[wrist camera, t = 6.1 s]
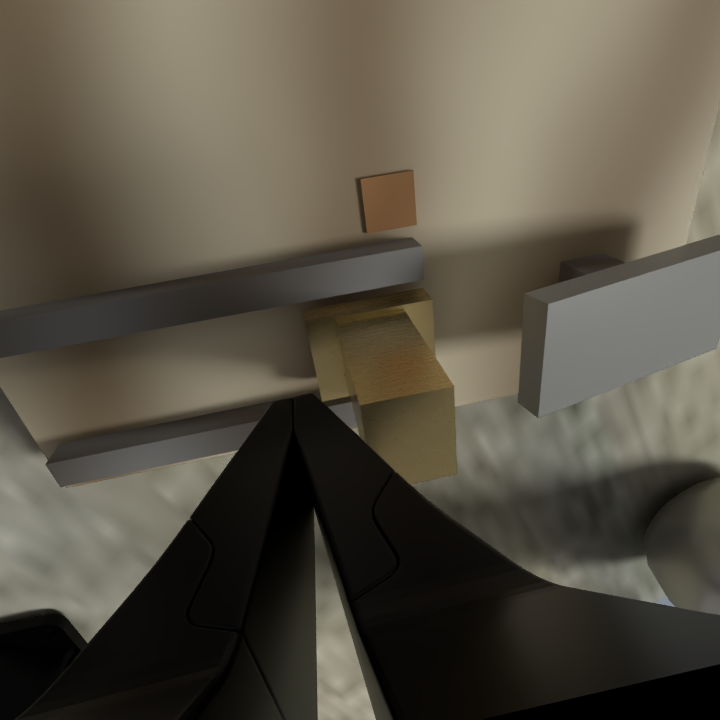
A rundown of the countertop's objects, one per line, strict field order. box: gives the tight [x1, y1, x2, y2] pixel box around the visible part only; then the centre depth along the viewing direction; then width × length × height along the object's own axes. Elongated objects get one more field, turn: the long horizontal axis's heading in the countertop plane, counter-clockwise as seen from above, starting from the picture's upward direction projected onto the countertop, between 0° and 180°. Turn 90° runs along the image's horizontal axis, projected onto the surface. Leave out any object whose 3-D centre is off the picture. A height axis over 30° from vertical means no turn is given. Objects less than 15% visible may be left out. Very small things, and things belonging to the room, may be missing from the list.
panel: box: [0, 0, 720, 488], centre depth 8 cm, size 18×18×4 cm
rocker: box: [518, 235, 720, 418], centre depth 10 cm, size 6×3×1 cm, turn 97°
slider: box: [304, 288, 457, 484], centre depth 10 cm, size 3×2×4 cm
